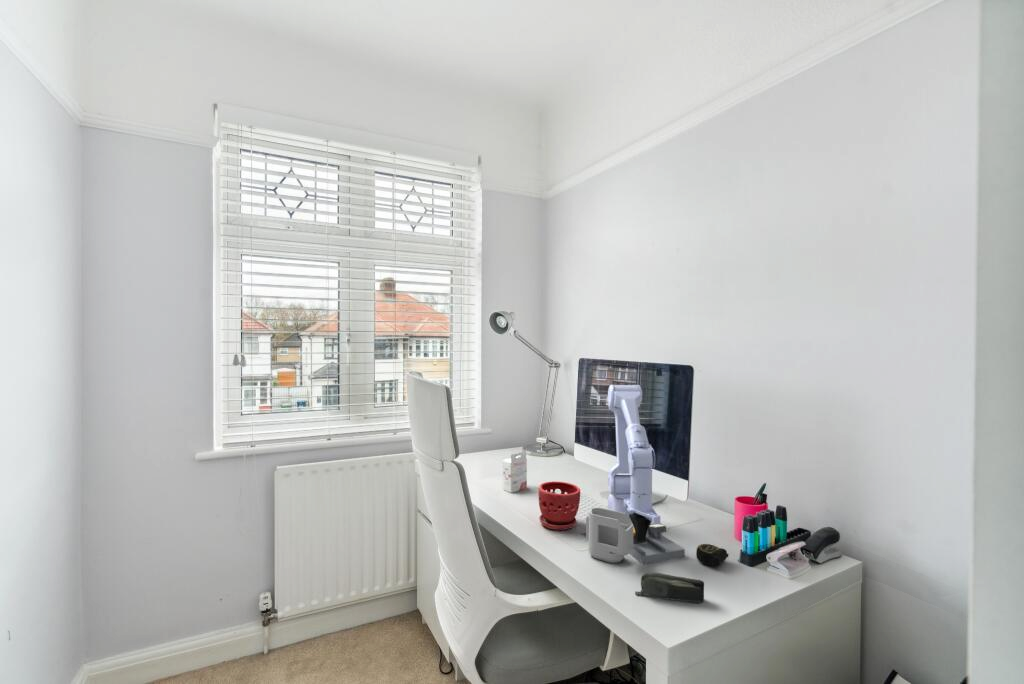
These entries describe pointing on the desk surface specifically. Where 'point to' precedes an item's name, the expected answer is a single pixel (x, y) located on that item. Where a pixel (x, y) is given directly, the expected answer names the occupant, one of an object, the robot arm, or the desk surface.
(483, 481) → the desk surface
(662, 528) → the on rocker
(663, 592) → the dark elongated piece
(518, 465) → the ink cartridge box
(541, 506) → the plant pot
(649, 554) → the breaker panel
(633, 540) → the block
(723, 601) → the desk surface
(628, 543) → the grey piece
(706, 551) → the tape measure
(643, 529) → the robot arm
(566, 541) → the desk surface
